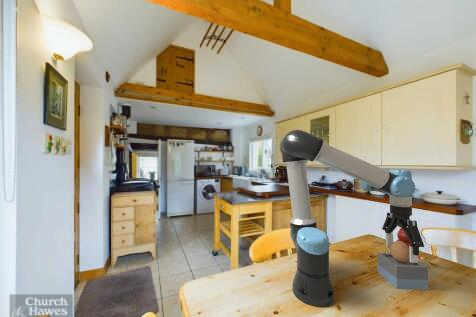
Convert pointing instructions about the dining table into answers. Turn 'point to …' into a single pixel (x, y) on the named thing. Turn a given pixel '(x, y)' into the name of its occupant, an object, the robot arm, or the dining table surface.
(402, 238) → the stacking bear
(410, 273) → the grey square tray
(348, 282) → the dining table surface
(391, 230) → the robot arm
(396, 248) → the egg
